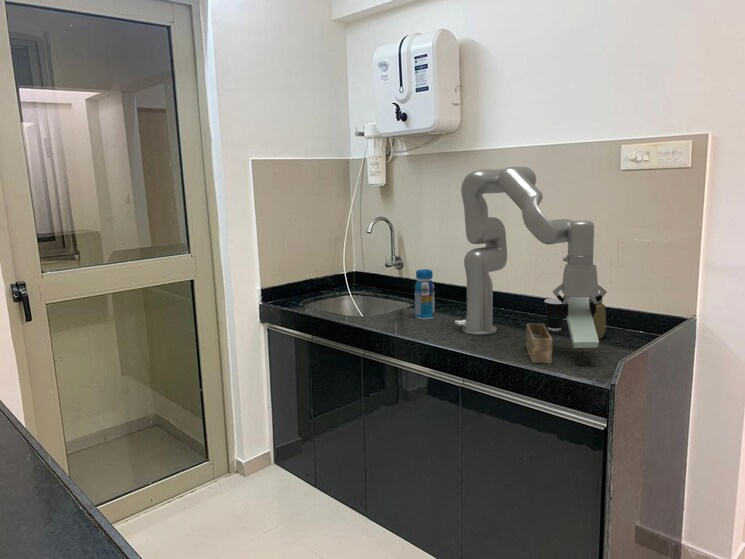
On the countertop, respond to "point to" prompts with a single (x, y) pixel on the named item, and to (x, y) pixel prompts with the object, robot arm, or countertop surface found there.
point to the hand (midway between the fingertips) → (578, 315)
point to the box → (539, 343)
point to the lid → (581, 323)
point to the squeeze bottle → (599, 318)
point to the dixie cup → (554, 314)
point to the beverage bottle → (424, 295)
